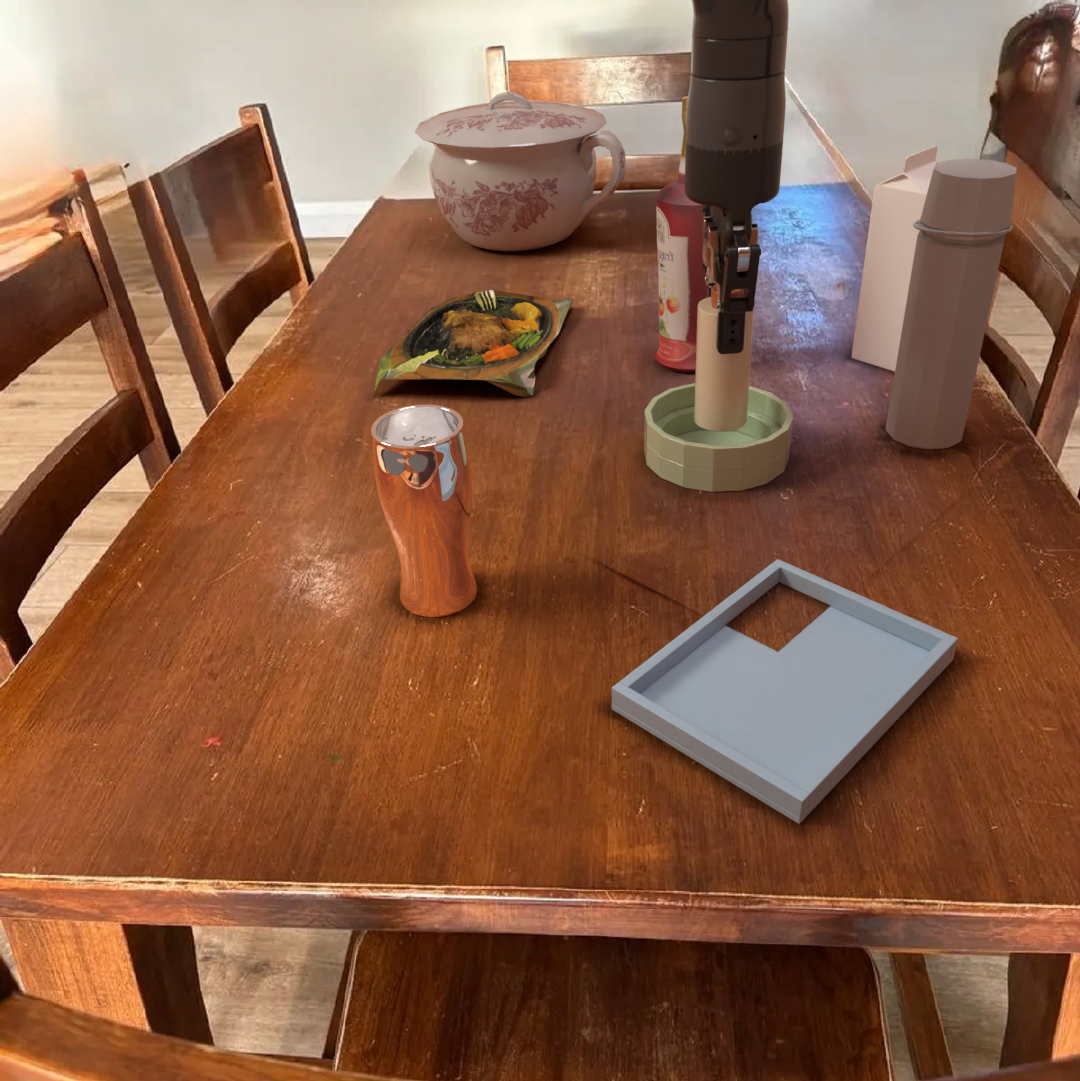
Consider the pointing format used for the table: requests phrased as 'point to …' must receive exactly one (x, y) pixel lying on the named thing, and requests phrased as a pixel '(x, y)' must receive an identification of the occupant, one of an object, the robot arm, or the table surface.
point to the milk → (890, 260)
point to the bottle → (720, 372)
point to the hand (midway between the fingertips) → (724, 338)
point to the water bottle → (949, 300)
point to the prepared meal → (478, 340)
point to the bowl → (716, 443)
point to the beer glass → (427, 504)
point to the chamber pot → (518, 170)
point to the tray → (785, 690)
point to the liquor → (679, 270)
